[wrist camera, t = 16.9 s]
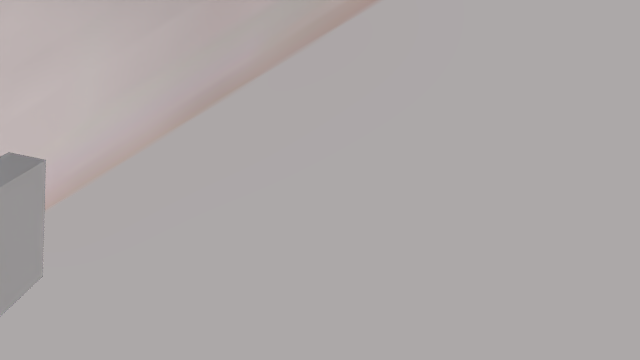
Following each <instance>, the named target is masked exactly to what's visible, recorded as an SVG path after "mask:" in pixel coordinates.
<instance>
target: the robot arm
mask: <svg viewBox="0 0 640 360" xmlns="http://www.w3.org/2000/svg"><path fill="white" fill-rule="evenodd" d="M45 173H46V160H44V159H39V158H34V157H29V156H24V155H20V154H15V153H10V152H8V153H7V154H5V155H3V156H1V157H0V317H1V316H2V315H3V314H4V313H5V312H6V311H7V310H8V309H9V308H10V307H11V306H12V305H13V304H14V303H15V302H16V301H17V300H19V299H20V298H21V296H23V295H24V294H25V293H26V292H27V291H28V290H29V289H30V288H31V287H32V286H33V285H34V284H35V283H36V282H37V281H38V280H40V279H41V278H42V277H43V247H44V210H45Z"/></svg>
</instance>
